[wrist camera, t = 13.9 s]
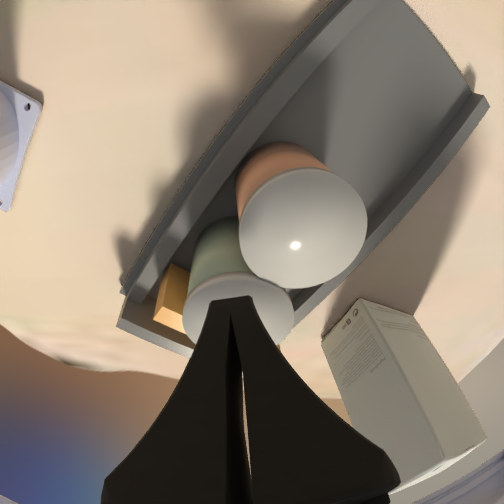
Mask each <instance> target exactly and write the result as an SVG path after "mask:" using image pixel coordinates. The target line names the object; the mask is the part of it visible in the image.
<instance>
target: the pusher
mask: <svg viewBox="0 0 504 504" xmlns="http://www.w3.org/2000/svg"><path fill="white" fill-rule="evenodd" d="M189 280H190V272H188V271H186V270H184V269H182V268H180V267H178V266H176V265H174V264H173V263H170V265H169V266H168V268H167V269H166V271H165V272H164V274H163V275H162V279H161V284H160V288H159V293H158V298H157V302H156V307H155V312H154V317H153V320H155V321H157V322H160V323H162V324H164V325H166V326H168V327H171V328H173V329H175V330H177V331H180V332H182V333H184V334H186V332H185V330H184V328H183V323H182V315H183V308H184V303H185V300H186V298H187V294H188V287H189ZM195 346H196V344H195ZM277 347H278V349H279V350H280V346H279V344H278V345H277ZM280 352H281V350H280Z"/></svg>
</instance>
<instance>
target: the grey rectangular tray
mask: <svg viewBox="0 0 504 504" xmlns="http://www.w3.org/2000/svg"><path fill="white" fill-rule="evenodd" d="M489 108H490V106H489V104H488V102H487V100H486V98H485V96H484V95H480V94H476V93H472V91H471V90H470V88H469V86H468V85H467V83H466V82H465V80H464V78H463V77H462V75H461V74H460V72H459V71H458V69H457V68H456V66H455V65H454V63H453V62H452V61H451V59H450V58H449V56H448V55H447V54H446V52H445V51H444V50H443V48H442V47H441V46H440V44H439V43H438V42H437V40H436V39H435V38H434V37H433V35H432V34H431V33H430V32H429V30H428V29H427V28H426V27H425V26H424V24H423V23H422V22H421V21H420V20H419V19H418V17H417V16H416V15H415V14H414V13H413V12H412V11H411V10H410V9H409V8H408V6H407V5H406V4H405V3H404V2H403V1H402V0H333V1H332V2H331V3H330V4H329V5H328V6H327V7H326V8H325V9H324V10H323V11H322V12H321V13H320V14H319V15H318V16H317V17H316V18H315V19H314V20H313V21H312V22H311V23H310V24H309V25H308V26H307V27H306V28H305V30H304V31H303V32H302V33H301V34H300V35H299V36H298V37H297V38H296V39H295V40H294V41H293V43H292V44H291V45H290V46H289V47H288V48H287V49H286V50H285V52H284V53H283V54H282V55H281V56H280V57H279V58H278V60H277V61H276V62H275V63H274V64H273V65H272V67H271V68H270V69H269V70H268V71H267V72H266V74H265V75H264V76H263V77H262V78H261V80H260V81H259V82H258V83H257V85H256V86H255V87H254V88H253V89H252V91H251V92H250V93H249V94H248V96H247V97H246V98H245V99H244V101H243V102H242V103H241V105H240V106H239V107H238V108H237V110H236V111H235V112H234V114H233V115H232V116H231V118H230V119H229V120H228V122H227V123H226V124H225V126H224V127H223V128H222V130H221V131H220V132H219V134H218V135H217V136H216V138H215V139H214V141H213V142H212V143H211V145H210V146H209V147H208V149H207V150H206V152H205V153H204V155H203V156H202V157H201V159H200V160H199V162H198V163H197V165H196V166H195V167H194V169H193V170H192V172H191V173H190V175H189V176H188V178H187V179H186V181H185V182H184V184H183V185H182V187H181V188H180V190H179V191H178V193H177V194H176V196H175V198H174V199H173V201H172V202H171V204H170V205H169V207H168V208H167V210H166V212H165V213H164V215H163V216H162V218H161V220H160V221H159V223H158V225H157V226H156V228H155V229H154V231H153V233H152V234H151V236H150V238H149V239H148V241H147V243H146V245H145V246H144V248H143V250H142V251H141V253H140V255H139V257H138V258H137V260H136V262H135V264H134V265H133V267H132V269H131V271H130V273H129V274H128V276H127V278H126V280H125V282H124V283H123V285H122V287H121V290H120V293H121V294H123V295H125V296H126V297H125V300H124V303H123V306H122V309H121V312H120V315H119V318H118V322H117V325H116V327H118V328H120V329H122V330H124V331H126V332H128V333H131V334H133V335H135V336H137V337H139V338H142V339H144V340H146V341H148V342H151V343H153V344H155V345H158V346H160V347H162V348H165V349H167V350H170V351H172V352H175V353H177V354H180V355H182V356H185V357H187V358H190V357H191V355H192V353H193V351H194V348H195V343H193V342H192V340H191V339H190V338H189V337H188V336H187V334H184V333H182V332H180V331H177V330H175V329H173V328H171V327H168V326H166V325H164V324H162V323H160V322H157V321H155V320H153V317H154V312H155V307H156V302H157V298H158V293H159V288H160V284H161V279H162V275H163V274H164V272H165V271H166V269H167V268H168V266H169V265H170V263H173V264H174V265H176V266H178V267H180V268H182V269H184V270H186V271H188V272H190V273H191V266H192V260H193V253H194V247H195V243H196V240H197V238H198V236H199V235H200V233H201V232H202V231H203V230H204V229H205V228H206V227H207V226H208V225H210V224H211V223H213V222H215V221H217V220H220V219H223V218H228V217H238V210H237V203H236V196H235V187H234V184H235V176H236V173H237V170H238V168H239V166H240V164H241V162H242V161H243V159H244V158H245V157H246V156H247V155H248V154H249V153H250V152H251V151H253V150H254V149H256V148H257V147H259V146H261V145H264V144H267V143H270V142H276V141H286V142H291V143H295V144H298V145H300V146H302V147H304V148H305V149H306V150H308V151H309V152H310V153H311V154H313V155H314V156H315V157H316V158H317V159H318V160H320V161H321V162H322V163H323V164H324V165H325V166H326V167H327V168H329V169H330V170H331V171H332V172H333V173H335V174H337V175H339V176H340V177H341V178H343V179H344V180H345V181H346V182H348V183H349V184H350V185H351V186H352V187H353V188H354V189H355V190H356V191H357V193H358V194H359V196H360V197H361V199H362V201H363V203H364V206H365V209H366V213H367V232H366V237H365V240H364V243H363V245H362V248H361V250H360V251H359V253H358V255H357V256H356V258H355V259H354V260H353V261H352V263H351V264H350V265H349V266H348V267H347V268H346V269H345V270H344V271H342V272H341V273H340V274H338V275H337V276H335V277H334V278H332V279H330V280H328V281H326V282H324V283H321V284H319V285H316V286H312V287H307V288H294V289H293V288H286V290H287V293H288V294H289V296H290V299H291V302H292V306H293V310H294V324H293V327H292V329H293V328H294V327H295V326H296V325H297V324H298V323H299V322H300V321H301V320H302V319H304V318H305V317H306V316H307V315H308V314H309V313H310V312H311V311H312V310H313V309H314V308H315V307H316V306H317V305H319V304H320V303H321V302H322V301H323V300H324V299H325V298H326V297H327V296H328V295H329V294H330V293H331V292H332V291H333V290H334V289H335V288H336V287H337V286H338V285H339V284H340V283H341V282H342V281H343V280H344V279H345V278H346V277H347V276H348V275H349V274H350V273H351V272H352V271H353V270H354V269H355V268H356V267H357V266H358V265H359V264H360V263H361V262H362V261H363V260H364V259H365V258H366V257H367V256H368V255H369V254H370V253H371V252H372V251H373V250H374V248H375V247H376V246H377V245H378V244H379V243H380V242H381V241H382V240H383V239H384V238H385V237H386V236H387V235H388V233H389V232H390V231H391V230H392V229H393V228H394V227H395V226H396V225H397V224H398V222H399V221H400V220H401V219H402V218H403V217H404V216H405V215H406V213H407V212H408V211H409V210H410V209H411V208H412V207H413V205H414V204H415V203H416V202H417V201H418V200H419V198H420V197H421V196H422V195H423V194H424V193H425V191H426V190H427V189H428V188H429V187H430V185H431V184H432V183H433V182H434V181H435V179H436V178H437V177H438V176H439V174H440V173H441V172H442V171H443V169H444V168H445V167H446V166H447V164H448V163H449V162H450V161H451V159H452V158H453V157H454V156H455V154H456V153H457V152H458V150H459V149H460V148H461V146H462V145H463V144H464V142H465V141H466V140H467V138H468V137H469V136H470V134H471V133H472V132H473V130H474V129H475V128H476V126H477V125H478V123H479V122H480V121H481V119H482V118H483V116H484V115H485V113H486V112H487V111H488V109H489ZM242 377H243V372H242Z"/></svg>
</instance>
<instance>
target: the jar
mask: <svg viewBox="0 0 504 504" xmlns="http://www.w3.org/2000/svg"><path fill="white" fill-rule="evenodd" d="M234 187H235V196H236V203H237V210H238V217H239V230H238V233H239V242H240V248H241V252H242V255H243V258H244V260H245V262H246V263H247V265H248V267H249V268H250V269H251V270H252V271H253V272H254V273H255V274H256V275H257V276H258V277H259V278H261V279H263V280H264V281H266V282H268V283H270V284H272V285H276V286H279V287H284V288H293V289H294V288H307V287H312V286H316V285H319V284H321V283H324V282H326V281H328V280H330V279H332V278H334V277H335V276H337V275H338V274H340V273H341V272H342V271H344V270H345V269H346V268H347V267H348V266H349V265H350V264H351V263H352V261H353V260H354V259H355V258H356V256H357V255H358V253H359V251H360V250H361V248H362V245H363V243H364V240H365V237H366V232H367V213H366V209H365V206H364V203H363V201H362V199H361V197H360V196H359V194H358V193H357V191H356V190H355V189H354V188H353V187H352V186H351V185H350V184H349V183H348V182H346V181H345V180H344V179H343V178H341V177H340V176H339V175H337V174H335V173H333V172H332V171H331V170H330V169H329V168H327V167H326V166H325V165H324V164H323V163H322V162H321V161H320V160H318V159H317V158H316V157H315V156H314V155H313V154H311V153H310V152H309V151H308V150H306V149H305V148H304V147H302V146H300V145H298V144H295V143H291V142H286V141H276V142H270V143H267V144H264V145H261V146H259V147H257V148H256V149H254V150H253V151H251V152H250V153H249V154H248V155H247V156H246V157H245V158H244V159H243V161H242V162H241V164H240V166H239V168H238V170H237V173H236V176H235V184H234Z"/></svg>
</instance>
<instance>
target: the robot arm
mask: <svg viewBox="0 0 504 504" xmlns="http://www.w3.org/2000/svg"><path fill="white" fill-rule="evenodd" d="M29 103H30V105H31V107H30V110H29V109H28V104H29ZM41 112H42V105H41V103H40V102H39V101H37V100H35V99H33V98H32V97H30V96H28V95H26V94H24V93H23V92H21V91H19V90H17V89H15V88H13V87H11V86H10V85H8V84H6V83H4V82H2V81H0V200H1V201H2V203H1V201H0V209H1V210H3V211H4V212H7V211H9V210H10V209H11V207H12V203H13V199H14V194H15V190H16V186H17V183H18V179H19V175H20V172H21V168H22V165H23V162H24V159H25V155H26V152H27V149H28V146H29V143H30V141H31V138H32V135H33V132H34V130H35V127H36V124H37V122H38V119H39V117H40V114H41ZM242 372H243V380H242ZM243 381H244V392H245V404H246V415H247V426H248V439H249V452H250V466H251V475H250V468H249V461H248V455H247V447H246V440H245V433H244V420H243ZM251 480H252V481H251ZM400 483H401V480H400V476H399V473H398V471H397V469H396V467H395V466H394V464H393V462H392V461H391V459H390V458H389V456H388V455H387V453H386V452H385V451H384V450H383V449H382V448H380V447H379V446H377V445H376V444H374V443H373V442H371V441H370V440H368V439H367V438H366V437H364V436H363V435H362V434H360V433H359V432H358V431H356V430H355V429H354V428H353V427H351V426H350V425H349V424H348V423H346V422H345V421H344V420H343V419H341V418H340V417H339V416H338V415H337V414H336V413H335V412H334V411H333V410H332V409H331V408H329V407H328V406H327V405H326V404H325V403H324V402H323V401H322V400H321V399H320V398H319V397H318V396H317V395H316V394H315V393H314V392H313V391H312V390H311V389H310V388H309V387H308V385H307V384H306V383H305V382H304V381H303V380H302V379H301V377H300V376H299V375H298V374H297V373H296V372H295V370H294V369H293V368H292V367H291V365H290V364H289V363H288V361H287V360H286V359H285V357H284V356H283V354H282V353H281V352H280V350H279V349H278V347H277V346H276V344H275V343H274V341H273V340H272V338H271V336H270V335H269V333H268V331H267V330H266V328H265V326H264V324H263V323H262V321H261V319H260V317H259V315H258V312H257V310H256V308H255V305H254V302H253V298H252V297H251V296H249V295H246V296H240V297H233V298H226V299H219V300H212V301H211V302H210V303H209V307H208V311H207V315H206V318H205V321H204V324H203V327H202V330H201V333H200V335H199V338H198V341H197V343H196V346H195V348H194V351H193V353H192V355H191V357H190V360H189V362H188V364H187V366H186V368H185V370H184V372H183V374H182V376H181V378H180V380H179V382H178V384H177V386H176V388H175V390H174V391H173V393H172V395H171V396H170V398H169V400H168V402H167V403H166V405H165V406H164V408H163V409H162V411H161V412H160V414H159V416H158V417H157V419H156V420H155V421H154V423H153V424H152V426H151V427H150V428H149V430H148V431H147V432H146V434H145V435H144V436H143V437H142V439H141V440H140V441H139V442H138V444H137V445H136V446H135V447H134V449H133V450H132V451H131V452H130V453H129V455H128V456H127V457H126V458H125V459H124V460H123V461H122V462H121V463H120V464H119V465H118V466H117V467H116V468H115V469H114V470H113V471H112V472H111V473H110V474H109V475H108V476H107V477H106V479H105V481H104V486H103V490H102V495H101V504H389V503H390V498H389V495H388V492H390V491H391V490H393V489H395V488H396V487H397V486H399V485H400ZM0 504H18V503H16V502H14V501H12V500H9V499H8V498H5V497H3V496H1V495H0ZM410 504H504V449H503V450H502V451H500V452H499V453H497V454H496V455H495V456H493V457H492V458H490V459H489V460H487V461H486V462H484V463H483V464H482V465H481V466H479V467H478V468H476V469H475V470H473V471H472V472H470V473H468V474H467V475H465V476H463V477H461V478H460V479H458V480H456V481H454V482H453V483H451V484H449V485H447V486H445V487H444V488H442V489H440V490H438V491H436V492H434V493H432V494H430V495H428V496H426V497H423V498H421V499H419V500H417V501H415V502H413V503H410Z"/></svg>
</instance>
